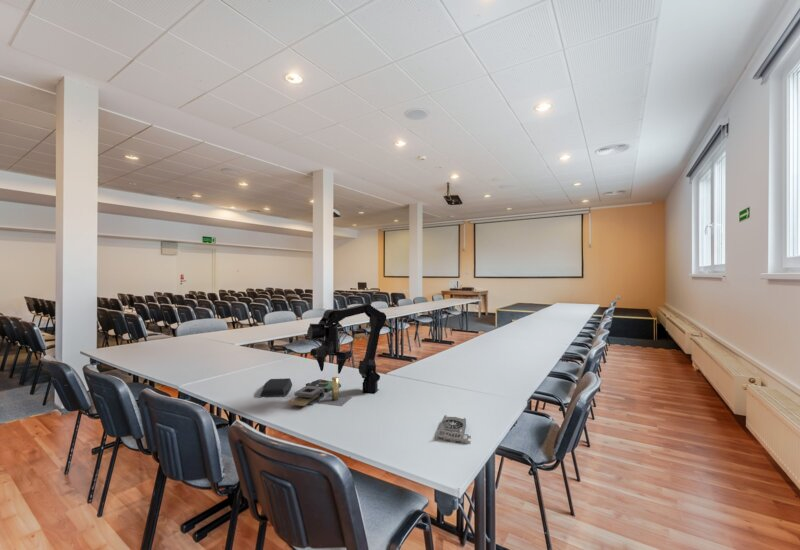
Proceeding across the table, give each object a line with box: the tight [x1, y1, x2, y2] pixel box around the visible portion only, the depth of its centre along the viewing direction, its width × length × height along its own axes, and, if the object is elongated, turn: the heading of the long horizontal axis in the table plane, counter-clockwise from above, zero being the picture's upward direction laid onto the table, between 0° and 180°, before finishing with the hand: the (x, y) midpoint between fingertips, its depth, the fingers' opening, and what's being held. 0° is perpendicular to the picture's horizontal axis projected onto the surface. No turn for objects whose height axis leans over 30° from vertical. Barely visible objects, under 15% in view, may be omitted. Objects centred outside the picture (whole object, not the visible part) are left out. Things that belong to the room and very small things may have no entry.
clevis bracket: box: [288, 385, 325, 407], centre depth 153 cm, size 16×9×5 cm, turn 164°
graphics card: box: [435, 414, 472, 444], centre depth 125 cm, size 17×4×12 cm
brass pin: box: [331, 376, 340, 401], centre depth 155 cm, size 3×3×10 cm
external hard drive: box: [258, 377, 293, 399], centre depth 169 cm, size 13×19×4 cm
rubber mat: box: [316, 394, 353, 407], centre depth 155 cm, size 12×12×1 cm
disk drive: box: [305, 378, 342, 393], centre depth 174 cm, size 10×3×15 cm
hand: (330, 372), depth 155 cm, fingers open, 9 cm apart
